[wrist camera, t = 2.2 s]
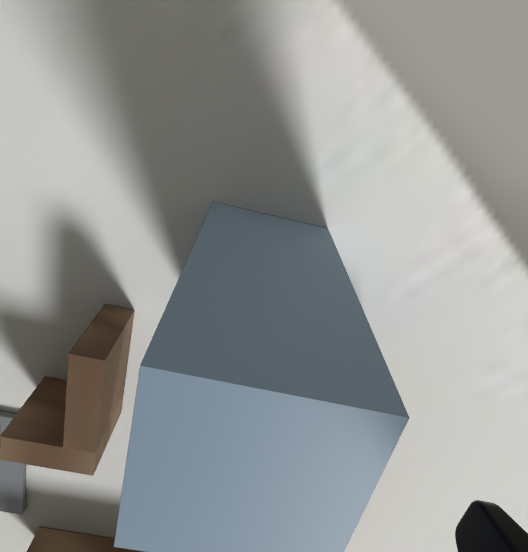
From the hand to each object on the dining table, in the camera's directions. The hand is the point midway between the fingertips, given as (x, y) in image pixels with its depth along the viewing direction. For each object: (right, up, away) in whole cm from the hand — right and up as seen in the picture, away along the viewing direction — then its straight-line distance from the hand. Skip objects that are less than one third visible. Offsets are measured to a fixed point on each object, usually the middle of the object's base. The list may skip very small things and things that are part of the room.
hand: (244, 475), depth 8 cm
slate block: (0, +4, +9) cm, 10 cm away
